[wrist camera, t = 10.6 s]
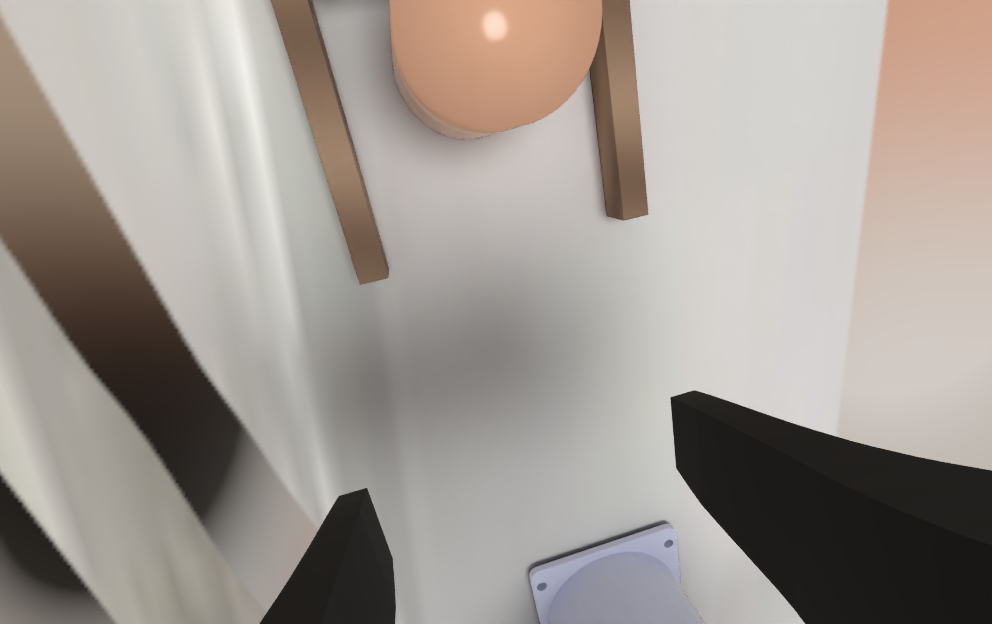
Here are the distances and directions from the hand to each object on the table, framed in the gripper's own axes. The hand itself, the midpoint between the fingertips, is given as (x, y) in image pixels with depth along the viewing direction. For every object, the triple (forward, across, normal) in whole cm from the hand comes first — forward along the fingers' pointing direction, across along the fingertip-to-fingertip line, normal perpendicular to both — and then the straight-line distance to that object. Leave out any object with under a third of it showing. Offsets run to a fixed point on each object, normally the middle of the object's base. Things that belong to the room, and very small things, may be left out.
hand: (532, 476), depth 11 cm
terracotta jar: (+10, -2, -10) cm, 14 cm away
